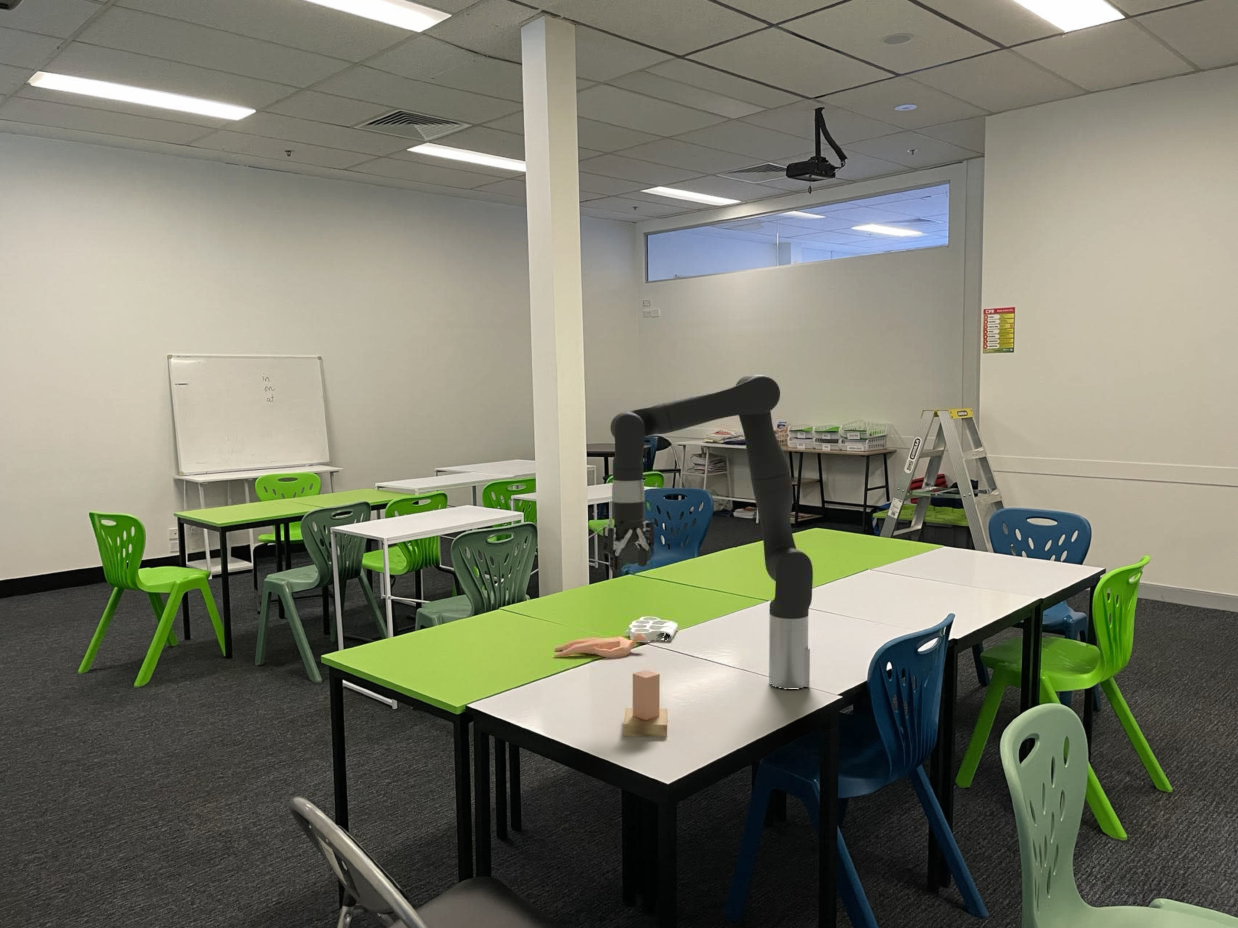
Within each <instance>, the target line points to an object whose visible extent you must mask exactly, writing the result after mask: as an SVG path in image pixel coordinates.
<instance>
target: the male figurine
mask: <svg viewBox="0 0 1238 928" xmlns="http://www.w3.org/2000/svg"><path fill="white" fill-rule="evenodd" d="M633 637H634V639H633V640H630V639H627V638H625V637H622V636H620V635H618V636H615V637H614V636H613V637H608V638H607V637H603V638H602V637H601V638H600V637H599V638H598V637H596V636H595V637H593V636H592V637H587V638H581V639H580V638H577V639H572V640H571V641H569V642H567V643H565V644H562V645H559V646H555V647H554V651H555V652H557V653H555V654H554V658H556V657H558V658H563V657H567V656H572V655H573V656H574V655H578V654H589V655H591V654H592V655H591V656H593V654H594V655H598V656H601V657H603V658H609V659H610V658H611V659H615V658H616V659H617V658H622V657H626V656H628V655H629V654H630V653H631V651H632V650H633V649H634V647H636V646H637V643H636V642H639V641H644V640H645V637H646V636H645V635H642V634H639V633H638V635H634V636H633ZM560 650H561V652H560Z"/></svg>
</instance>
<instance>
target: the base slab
mask: <svg viewBox="0 0 1238 928" xmlns="http://www.w3.org/2000/svg"><path fill="white" fill-rule="evenodd" d="M622 726H623V727H622V729H623V737H653V738H654V737H656V738H657V737H660V738H661V737H663V738H664V737H665V738H667V737H668V708H659V716H658V717H655V718H652V719H649V720H643V719H641V718H638V717H635V716H633V707H631V708H630V707H627V708H625V710H624V717H623V725H622Z"/></svg>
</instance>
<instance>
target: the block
mask: <svg viewBox="0 0 1238 928" xmlns="http://www.w3.org/2000/svg"><path fill="white" fill-rule="evenodd" d="M660 679H661V677H660V673H657V672H654V671H651V670H647V669H645V670H641V671H638V672H634V673H632V708H633V716H635V717H638V718H641V719H643V720H649V719H652V718H655V717H658V716H659V709H660V687H661V686H660Z"/></svg>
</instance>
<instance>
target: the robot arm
mask: <svg viewBox="0 0 1238 928" xmlns="http://www.w3.org/2000/svg"><path fill="white" fill-rule="evenodd" d="M780 398H781V390H780V387H779V384H778V383H777V381H775V380H774V379H773V378H772V377H770V376H768V375H764V374H748V375H744V376H742V377H740V378H739V379H738V381H737V382H736V384H735V385H734V386H732V387H730V388H726V389H723V390H719V391H715V392H714V391H713V392H710V393H705V394H699V395H692V396H686V397H682V398H677V399H673V400H670V401H665V402H662V403H661V402H660V403H658V404H655V405H653V406H650V407H649V406H648V407H644V408H643V407H642V408H638V409H637V408H636V409H633V410H627V411H623V412H620V413H618V414H616V415H615V416H614V417H613V418H612V421H611V422H610V433H611V435H612V436H613V438H614V456H613V460H612V486H611V511H612V512H611V514H612V515H611V517H612V520H613V522H614V523H613V526H604V527H603V528H602V545H601V546H602V548H601V549H602V553H604V554H607V555H608V556H609V568H610V570H611V571H612V572H616V573H618V572H620V569H621V566H620V565H621V563H620V561H621V560H620V558H621V557H620V553H621V552H622V549H624V548H625V547H626V545H627V544H631V543H634V544H635V545H636V546H637V548H638V549H637V565H638V566H640V567H646V566H647V563H648V561H649V560H648V550H649V549H650V548H651V547H654V546H655V530H654V522H653V521H649V520H645V518H646V517H645V516H646V514H645V513H646V510H645V509H646V508H645V503H646V501H645V499H646V498H645V497H646V496H645V485H644V461H643V459H644V457H643V456H644V449H645V440H646V438H647V437H650V436H654V435H665V434H670V433H674V432H677V431H678V432H679V431H682V430H684V429H688V428H692V427H695V426H698V425H701V424H706V423H708V422H709V423H710V422H713V421H716V420H720V419H721V420H722V419H724V418H729V417H735V416H738V418H739V421H740V425H741V428H742V431H743V436H744V442H745V448H746V456H747V461H748V468H749V473H750V481H751V485H752V490H753V495H754V499H755V504H756V510H757V514H758V518H759V523H760V527H761V531H762V532H761V533H762V541H763V555H764V566H765V569H766V572H767V575H768V576H769V578H771V579H772V581H774V582H775V587H774V598H773V599H772V600H771V601H770V602H769V615H768V616H769V621H768V622H769V628H768V630H769V634H768V635H769V636H768V638H769V639H768V641H769V644H768V646H769V648H768V652H769V653H768V683H769V682H770V683H771V684H772V685H774V686H776V687H781V688H802V689H804V688H803V687H810V685H811V684H810V680H811V679H810V677H811V676H810V673H811V671H810V670H811V667H810V666H811V661H810V660H811V649H810V647H809V609H810V607H811V604H812V600H813V582H814V571H813V568H814V567H813V564H812V563H813V562H812V561H811V559H810V557H809V555H807V554H806V553H805V552H803V551H801V550H799V549H797V547H796V546H797V545H796V543H795V540H794V539H795V538H794V536H793V531H792V524H791V516H792V508H793V501H794V489H793V482H792V477H791V472H790V468H789V464H788V460H787V458H786V455H785V453H784V451H783V448H782V446H781V445H780V442H779V440H778V438H777V436H776V432H775V430H774V426H773V425H774V423H773V420H772V410H773V409H775V408H776V406H777V405H778V403H779V402H780ZM772 685H771V686H772ZM776 687H775V688H776ZM810 688H811V687H810Z"/></svg>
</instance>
